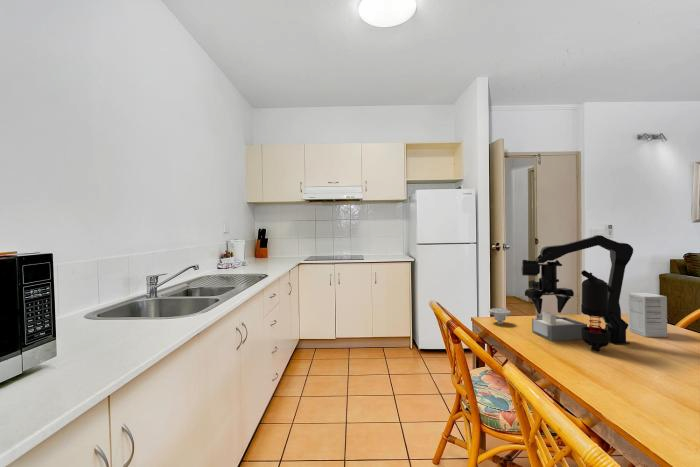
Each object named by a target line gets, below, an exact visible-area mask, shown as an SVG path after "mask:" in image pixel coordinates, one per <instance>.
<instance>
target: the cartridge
mask: <svg viewBox="0 0 700 467" xmlns="http://www.w3.org/2000/svg"><path fill="white" fill-rule="evenodd" d="M541 314H542V320H535V319H534V318H532V319H533V330H534V331H536V332H538V333H540V334H543V335H545V336H547V337H549V325H566V324H574V323H571V322H568V321H566V320H563V319H556V316H557V314H554V313H551V312H549V311H544V312H543V311H541Z"/></svg>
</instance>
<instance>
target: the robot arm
mask: <svg viewBox="0 0 700 467" xmlns="http://www.w3.org/2000/svg"><path fill="white" fill-rule="evenodd" d="M597 246H599V247H601V248H603V249H605V250H607V251H609V257H610V258H609V260H610V263H611V264H610V265H611V266H610V271H609V272H610V273H609V277H608V282H607V283H608V284H607V285H609V286H610V287H612V288H613V289H614V291H613V292H608V316H606V317H601V318H600V319H602V320H603V321H604V323H605V325H604V326H605V327H604V329H606V330H609V331H610V332H611V334H610V343H609V344H613V345H629V344H630V341H628V340H627V329H628V322H626V321H625V320H624V319H623V318H622V311H621V310H622V309H621V305H620V299H621V294H622V287H623V282H624V275H625V272H626V267H627V265H628V263H629V262H630V261H631V258H632V256H633V254H634V248H633V246H632V245H631V244H629V243H626V242H618V241H616V240H613V239H610V238H608V237H605V236H603V235H601V234H600V235H599V234H596V235H593V236H591V237H587V238H582V239H580V240H576V241H572V242H569V243H564V244H557V245H556V244H555V245H546V246H544V247H541V250H540V251H539V255H538V256H537V257H536V258H535V259H534V260H533V259H532V260H531V259H530V260H529V259H522V262H521V276H525V277H528V276H529V277H530V276H531V277H537V276H538V275H539V274H541V275H540V276H541V277H539V278H538V281H535V280H534V279H533V280H532V279H531V280H529V281H528V288H527V289H526V290H524V296H525V297H527V299H531V301H532V303H533V304H534V307H535V309H536V312H537V315H538V314H542V308H543V300H544V299H543V298H542V297H543V296H555V297H556V299H557V300H556V301H557V302H556V303H557V307H556V308H557V313H559V314H561V313H562V311H563V309H564V307H565V306H566V304H567V303H568V301H569V300H570V299H572V297H574V296H575V293H574V291H573V289H572V288H567V287H558V283H560V279H558V273H557V272H558V271H557V270H558V267H562V266H563V263H561V262H560V261H559V260H558V259H559V258H562V257H563V256H565V255H567V254H571V253H573V252H574V253H575V252H578V251H582V250H586V249H590V248H593V247H597Z"/></svg>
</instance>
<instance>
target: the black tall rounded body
mask: <svg viewBox="0 0 700 467" xmlns="http://www.w3.org/2000/svg"><path fill="white" fill-rule="evenodd" d="M580 274H581V275H582V276H583V277H584V278H586V279H584V280H583V281H582V282H581V304H580V306H581V307H580V310H581V311H580V312H581V313H582V314H583V315H585V316H588V317H590V319H589V320H588V321H589V324H590V325H589V326H587V327H582V328H581V330H582V339H581V340H582V341H583V342H584V343H585V344H586V345H588V346H589V347H591V350H592V351H593V352H594V351H595V352H600V351H601V348H604V347H607V346H608V345H609V344H611V343H610V334H611V332H610V331H609V330H606V329H605V328H602V326H601V323H602V321H601V320H600V319H602V318H601V317H606V316H608V292H613V291H614V289H613V288H612V287H610V286H609V285H608V282H606V281H605V280H604V279H601V278H598V277H597V276H595V275H593V273H592V272H589V271H587V270H585V269H583V270H581V272H580ZM592 318H595V319H592ZM596 318H597V319H596ZM595 324H598V325H595Z"/></svg>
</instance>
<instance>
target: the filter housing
mask: <svg viewBox="0 0 700 467" xmlns="http://www.w3.org/2000/svg"><path fill="white" fill-rule="evenodd" d="M533 319H535V320H542V313H541V314H538V313H537V314H536V318H535V317H534V318H532V319H531V328H532V329H531V332H532V333H533V334H536V335H538V336H540V337H541V338H544V339H547V340H549V341H551V342H557V341H559V340H560V341H571V340H572V341H574V340H573V339H577V340H583V339H582V330H581V328H582V327H588V324H587V323H584V322H581V321H578V320H576V319H573V318H570V317H567V316H558V315H556V319H563V320H566V321H568V322H571V323H574V324H566V325H549V337H547V336H545V335H543V334H540V333H538V332H536V331H534V330H533Z"/></svg>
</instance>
